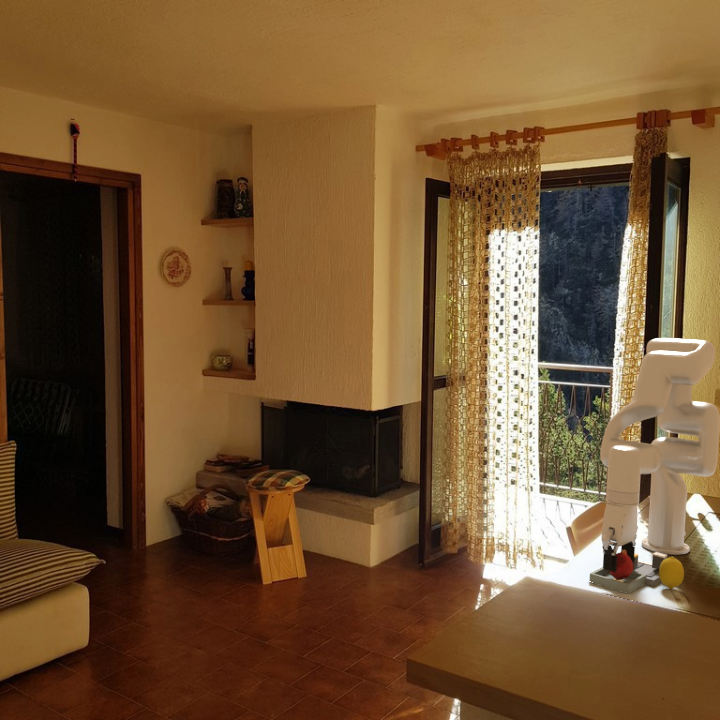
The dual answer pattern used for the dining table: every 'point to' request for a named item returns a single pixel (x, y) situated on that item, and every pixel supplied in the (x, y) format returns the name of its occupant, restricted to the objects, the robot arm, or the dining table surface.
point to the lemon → (671, 572)
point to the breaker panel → (648, 573)
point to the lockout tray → (623, 585)
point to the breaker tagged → (635, 562)
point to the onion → (623, 566)
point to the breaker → (658, 559)
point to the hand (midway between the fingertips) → (618, 565)
